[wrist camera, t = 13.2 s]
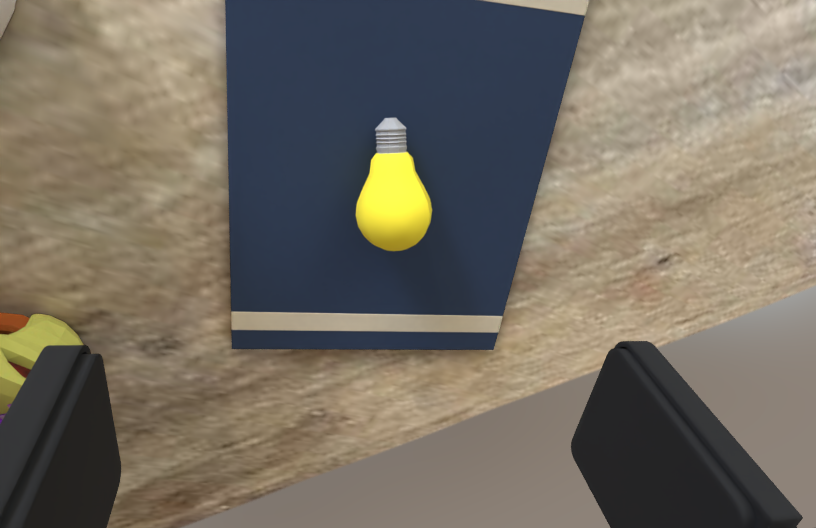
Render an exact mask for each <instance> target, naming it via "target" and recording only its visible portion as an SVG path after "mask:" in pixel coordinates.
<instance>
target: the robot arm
mask: <svg viewBox="0 0 816 528" xmlns="http://www.w3.org/2000/svg"><path fill="white" fill-rule="evenodd" d="M571 450H572V455H573V458H574V460H575V462H576V464H577V466H578V467H579V469H580V471H581V473H582V475H583V477H584V478H585V480H586V482H587V484H588V486H589V488H590V490H591V492H592V493H593V495H594V497H595V499H596V501H597V503H598V505H599V507H600V508H601V510H602V512H603V514H604V516H605V518H606V520H607V522H608V524H609V525H610V527H611V528H797V527H796V526H797V525H798V523H799V522H800V521H801V520H802V518H803V517H802V516H801V515H800V514H799V512H798V511H797V510H796V509H795V508H794V507H793V506H792V504H791V503H790V502H789V501H788V500H787V499H786V497H785V496H784V495H783V494H782V493H781V492H780V490H779V489H778V488H777V487H776V486H775V485H774V483H773V482H772V481H771V480H770V479H769V478H768V476H767V475H766V474H765V473H764V472H763V471H762V470H761V468H760V467H759V466H758V465H757V464H756V463H755V462H754V460H753V459H752V458H751V457H750V456H749V455H748V453H747V452H746V451H745V450H744V449H743V448H742V446H741V445H740V444H739V443H738V442H737V441H736V439H735V438H734V437H733V436H732V435H731V434H730V433H729V431H728V430H727V429H726V428H725V427H724V426H723V424H722V423H721V422H720V421H719V420H718V419H717V417H716V416H715V415H714V414H713V413H712V412H711V411H710V409H709V408H708V407H707V406H706V405H705V404H704V402H703V401H702V400H701V399H700V398H699V397H698V395H697V394H696V393H695V392H694V391H693V390H692V389H691V388H690V386H689V385H688V384H687V383H686V382H685V381H684V380H683V378H682V377H681V376H680V375H679V374H678V372H677V371H676V370H675V369H674V368H673V367H672V365H671V364H670V363H669V362H668V361H667V360H666V359H665V357H664V356H663V355H662V354H661V353H660V352H659V351H658V349H657V348H656V347H655V346H654V345H653V344H652V343H650V342H647V341H623V342H619V343H618V344H617V345H616V346H615V348H614V349H611V350H610V351H609V352H608V354H607V356H606V359H605V361H604V364H603V366H602V369H601V371H600V374H599V376H598V378H597V381H596V383H595V386H594V388H593V390H592V393H591V395H590V398H589V400H588V402H587V405H586V407H585V410H584V412H583V414H582V417H581V419H580V422H579V424H578V426H577V429H576V431H575V434H574V436H573V439H572V442H571ZM120 477H121V461H120V456H119V450H118V444H117V438H116V433H115V427H114V421H113V415H112V410H111V404H110V398H109V392H108V387H107V381H106V375H105V369H104V364H103V359H102V356H101V355H100V354H91V353H90V349H89V348H88V346H86V345H48V346H46V347H44V349H43V350H42V351H41V353H40V355H39V356H38V358H37V360H36V362H35V364H34V365H33V367H32V369H31V371H30V372H29V374H28V376H27V378H26V379H25V381H24V383H23V385H22V386H21V388H20V390H19V392H18V394H17V395H16V397H15V399H14V401H13V402H12V404H11V406H10V408H9V409H8V411H7V413H6V415H5V416H4V418H3V420H2V422H1V424H0V528H107V524H108V521H109V518H110V514H111V511H112V507H113V504H114V501H115V497H116V494H117V491H118V487H119V483H120Z"/></svg>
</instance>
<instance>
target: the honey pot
mask: <svg viewBox="0 0 816 528" xmlns="http://www.w3.org/2000/svg"><path fill="white" fill-rule="evenodd" d="M15 3H16V0H0V39H1V37H2V35H3V33H4V31H5V29H6V27H7V24H8V22H9V20H10V18H11V16H12V14H13V12H14V10H15Z"/></svg>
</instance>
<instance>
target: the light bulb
mask: <svg viewBox="0 0 816 528" xmlns="http://www.w3.org/2000/svg"><path fill="white" fill-rule="evenodd" d="M406 129H407V128H406V127H405V126H404V125H403V124H402V123H401V122H400V121H398V120H397V118H384V120H383V121H382V122H381V123H380V124H379V125H378V127H377V128H376V129H375V131H376V135H375V136H377V138H376V140H377V142H376V143H377V147H376V150H377V153H376V154H375V155H374V157H373V158H372V159H371V165H370V173H369V176H368V178H367V180H366V182H365V184H364V187H363V189H362V191H361V193H360V196H359V199H358V201H357V206H356V219H357V224H358V227H359V229H360V231H361V232H362V234H363V236H364V237H365V238H366V239H367V240H368V241H369V242H371V243H372V244H373V245H375V246H377V247H380V248H382V249H384V250H387V251H402V250H406V249H408V248H410V247H412V246H414V245H416V244H417V243H418V242H419V241H420V240H421V239H422V238H423V237H424V235H425V233H426V231H427V229H428V227H429V224H430V222H431V215H432V207H431V201H430V198H429V195H428V193H427V191H426V189H425V187H424V186H423V184H422V182H421V180H420V178H419V177H418V175H417V173H416V171H415V166H414V161H413V158H412V156H411V155H410V154H409V153H408V152H406V150H407V146H406V142H407V141H406V138H407V137H406V131H405V130H406Z"/></svg>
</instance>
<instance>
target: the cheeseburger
mask: <svg viewBox="0 0 816 528" xmlns="http://www.w3.org/2000/svg"><path fill="white" fill-rule="evenodd" d="M48 345H83V343H82V341H81V340H80V338H79V336H78V335H77V334H76V333H75V332H74V331H73V330H72V329H71V328H70V327H69V326H68V325H67V324H66V323H65V322H63V321H61V320H58V319H56V318H54V317H52V316H50V315H44V314H34V315H32V316H31V317H30V318H28V317H26V316H24V315H18V314H9V313H0V424H1V422H2V420H3V418H4V416H5V415H6V413H7V411H8V409H9V408H10V406H11V404H12V402H13V401H14V399H15V397H16V395H17V394H18V392H19V390H20V388H21V386H22V385H23V383H24V381H25V379H26V378H27V376H28V374H29V372H30V371H31V369H32V367H33V365H34V364H35V362H36V360H37V358H38V356H39V355H40V353H41V351H42V350H43V349H44V347H46V346H48Z"/></svg>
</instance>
